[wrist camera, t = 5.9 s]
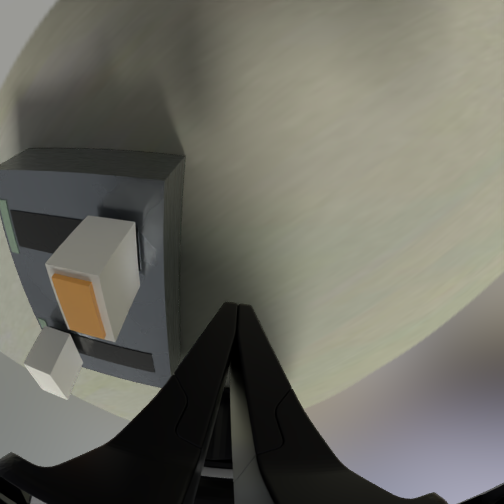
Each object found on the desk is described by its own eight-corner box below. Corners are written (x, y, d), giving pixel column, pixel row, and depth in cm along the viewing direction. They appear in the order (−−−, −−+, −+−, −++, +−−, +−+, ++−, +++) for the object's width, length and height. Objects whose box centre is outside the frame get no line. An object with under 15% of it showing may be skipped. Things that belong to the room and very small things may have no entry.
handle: (70, 334, 14) (50, 375, 11) (83, 362, 15) (67, 400, 13) (44, 325, 14) (23, 363, 11) (59, 354, 15) (42, 389, 13)
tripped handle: (135, 221, 10) (96, 280, 7) (140, 286, 11) (113, 346, 9) (87, 215, 10) (41, 267, 7) (98, 277, 11) (65, 333, 9)
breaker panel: (185, 155, 12) (164, 181, 9) (180, 354, 20) (172, 390, 17) (28, 148, 11) (-10, 170, 9) (71, 328, 19) (56, 358, 16)
